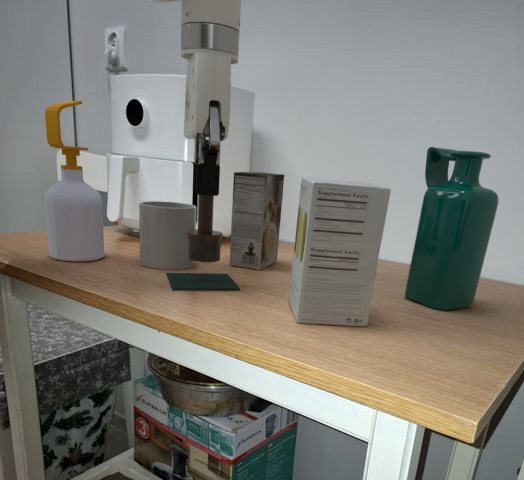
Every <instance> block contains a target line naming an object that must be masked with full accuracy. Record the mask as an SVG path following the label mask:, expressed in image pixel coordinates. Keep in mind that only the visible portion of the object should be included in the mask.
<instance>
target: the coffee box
mask: <svg viewBox="0 0 524 480" xmlns="http://www.w3.org/2000/svg"><path fill="white" fill-rule="evenodd" d="M284 181H285V174H280V173H271V172H258V171H237V172H236V171H234V172H233V182H232V183H233V185H232V186H233V187H232V204H231V222H230V223H231V224H230V226H231V227H230V245H229V261H228V262H229V266H231V267H237V268H244V269H250V270H257V271H262V270H264V269H265V268H267V267H269V266H271V265H273V264H276V263H277V262H278V251H279V242H280V240H279V239H280V229H281V219H282V208H283V207H282V206H283V196H284V195H283V194H284V183H285V182H284Z"/></svg>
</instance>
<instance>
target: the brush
mask: <svg viewBox="0 0 524 480" xmlns="http://www.w3.org/2000/svg"><path fill="white" fill-rule="evenodd" d="M197 195H198V194H197ZM197 197H198V201H197V229H196V230H189V231H187V238H188V239H189V243H188V259H190V260H192V261H195V262H198V263H216V262H220V261H221V249H222V248H221V247H222V245H221V244H222V241H223V232H221V231H218V230H213V229H214V204H215V203H214V202H215V201H214V200H215V199H214V198H215V196H208V195H198V196H197Z"/></svg>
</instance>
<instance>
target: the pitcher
mask: <svg viewBox="0 0 524 480" xmlns="http://www.w3.org/2000/svg"><path fill="white" fill-rule="evenodd" d="M491 157H492V155H491V154H490V153H488V152H483V151H474V150H473V151H472V150H456V149H452V148H445V147H435V146H430V147H429V148H427V151H426V160H425V169H424V170H425V171H424V179H425V184H426V187H427V189H426V190H425V191H424V194H423V196H422V202H421V208H420V212H419V218H418V222H417V228H416V233H415V238H414V243H413V247H412V248H413V249H412V253H411V259H410V264H409V269H408V274H407V279H406V284H405V289H404V297H405V298H406V299H408V300H409V301H413V302H415V303H418V304H420V305H423V306H426V307H429V308H432V309H435V310H439V311H452V310H458V309H464V308H465V309H466V308H470V307H472V306H473V305H474V303H475V298H476V295H477V291H478V286H479V283H480V278H481V275H482V270H483V266H484V262H485V258H486V255H487V250H488V246H489V243H490V238H491V235H492V230H493V227H494V222H495V219H496V215H497V211H498V206H499V195H498V193H497V192H496V191H494V190H493V189H490V188H486V187H484V186H482V185H481V183H480V175H481V170H482V167H483V162H484V160H489V159H491ZM450 162H454V164H453V169H452V174H451V176H450V178H449V166H450Z"/></svg>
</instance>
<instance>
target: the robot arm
mask: <svg viewBox="0 0 524 480" xmlns="http://www.w3.org/2000/svg"><path fill="white" fill-rule="evenodd" d="M149 1H150V2H152V3H158V4H159V3H161V4H165V3H166V4H167V3H174V2H181V12H180V13H181V14H180V15H181V18H180V19H181V20H180V21H181V22H180V57H181V58H182V59H184V60H186V61H187V67H186V77H185V94H184V97H185V98H184V117H183V119H184V121H183V122H184V123H183V136H184V137H185V139H187V140H194V156H193V157H194V158H193V162H194V163H192V165H193V169H192V192H193V193H195V194H196V195H208V196H214V197H218V196H219V195H220V179H221V177H220V176H221V173H220V172H221V166H220V163H221V142H223V141H225V140H226V139H227V138H228V136H229V130H230V120H231V95H232V93H231V92H232V91H231V88H232V87H231V86H232V72H231V71H232V65H237V64H238V63H239V55H240V54H239V52H240V51H239V50H240V32H241V31H240V30H241V13H242V0H148V2H149ZM207 138H208V139H207Z"/></svg>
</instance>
